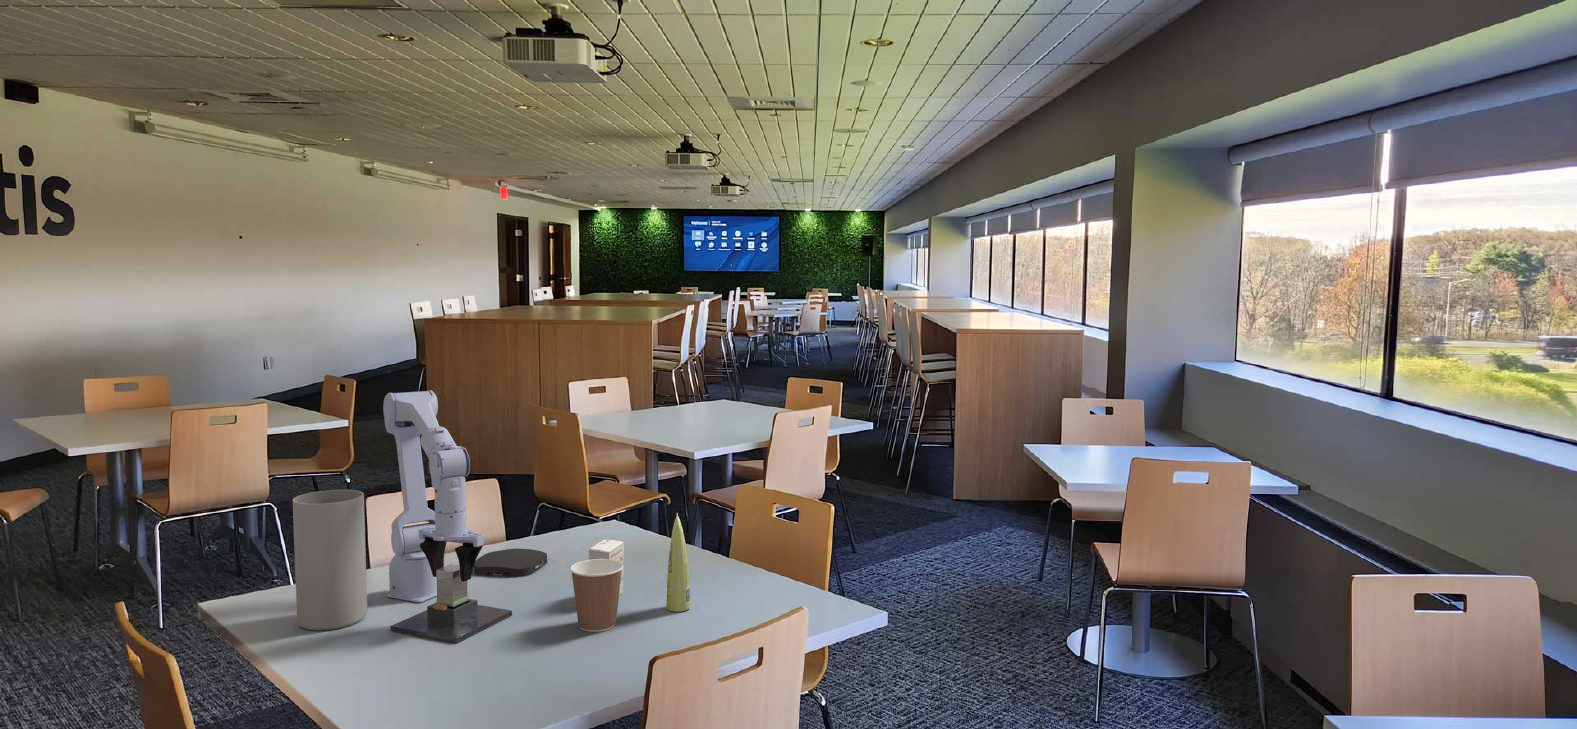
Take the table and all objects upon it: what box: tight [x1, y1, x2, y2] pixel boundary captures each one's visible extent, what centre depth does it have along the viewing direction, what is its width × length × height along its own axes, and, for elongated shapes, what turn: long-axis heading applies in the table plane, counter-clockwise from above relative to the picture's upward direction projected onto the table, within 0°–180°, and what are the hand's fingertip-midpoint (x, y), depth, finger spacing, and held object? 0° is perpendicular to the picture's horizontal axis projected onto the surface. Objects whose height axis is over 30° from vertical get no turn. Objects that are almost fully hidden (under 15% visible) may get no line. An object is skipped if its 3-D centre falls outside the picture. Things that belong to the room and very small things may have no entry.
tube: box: [666, 512, 691, 613], centre depth 188 cm, size 6×5×20 cm
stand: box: [390, 598, 513, 644], centre depth 179 cm, size 16×16×5 cm
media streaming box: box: [473, 548, 548, 578], centre depth 215 cm, size 15×15×3 cm
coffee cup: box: [569, 559, 624, 633], centre depth 178 cm, size 10×10×12 cm
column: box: [435, 563, 469, 607], centre depth 178 cm, size 4×4×7 cm
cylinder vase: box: [292, 489, 368, 631], centre depth 179 cm, size 12×12×25 cm
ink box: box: [588, 539, 625, 597], centre depth 193 cm, size 9×5×12 cm, turn 168°
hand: (451, 577), depth 178 cm, fingers open, 6 cm apart
